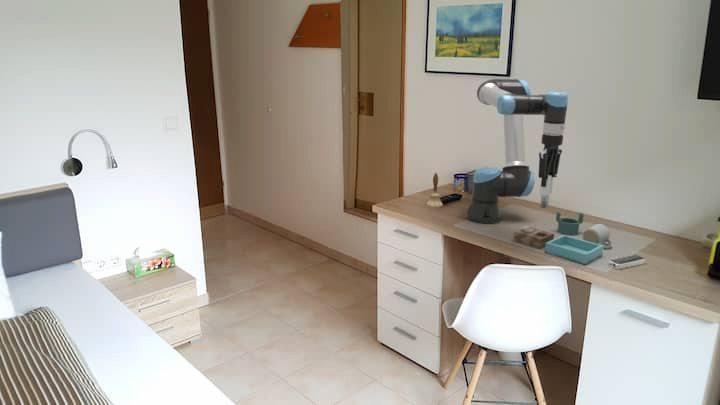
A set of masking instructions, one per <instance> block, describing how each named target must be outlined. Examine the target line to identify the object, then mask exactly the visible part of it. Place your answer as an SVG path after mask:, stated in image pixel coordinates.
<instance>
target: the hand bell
mask: <svg viewBox="0 0 720 405" xmlns="http://www.w3.org/2000/svg"><path fill="white" fill-rule="evenodd" d="M432 182H433V183H432V184H433V192H432V193H430V196H429V199H428V201H427V202H426V204H425V205H426V206H428V207H432V208H439V207H443V206H444V204H443V202H442V201H441V197H440V196H441V195H440V194H439V193H438V183H439V176H438V173H437V172H435V173H434V174H433V178H432Z"/></svg>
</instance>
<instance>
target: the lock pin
mask: <svg viewBox="0 0 720 405" xmlns="http://www.w3.org/2000/svg"><path fill="white" fill-rule="evenodd" d="M551 178H552V175H548V179H549V184H548V192H547V195H542V194H541V196H540V197H541V200H540V208H542V209H548V207H549V201H550V195H551V194H550V186H551Z"/></svg>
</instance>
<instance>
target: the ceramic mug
mask: <svg viewBox="0 0 720 405" xmlns="http://www.w3.org/2000/svg"><path fill="white" fill-rule="evenodd" d="M610 237H611V232H610V230H609V228H608V227H607V226H606V225H605V224H602V223H597V224H595V225H591V226H590V227H588V228H586V229H585V230H584V231H583V234H582V238H583V239H582V240H585V241H588V242H592V243H596V244H599V245H603V249H607V250H609V249H611V248H612V246H613V242H612V240H611V239H610ZM605 243H607V244H608V245H606V244H605Z"/></svg>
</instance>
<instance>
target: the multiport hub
mask: <svg viewBox="0 0 720 405" xmlns="http://www.w3.org/2000/svg"><path fill="white" fill-rule="evenodd" d="M645 262H646V258H645V257H641V256H640V255H637V254H634V255H633V254H632V255H629V256H625V257H619V258H614V259H611V260H609V261H608V265H611V266H614V267H615V268H618V269H619V268H624V269H626V268H625V267H628V268H632V267H631V266H633V267H636V265H637V266H641V265H645ZM608 265H607V266H608ZM615 268H614V269H615Z"/></svg>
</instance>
